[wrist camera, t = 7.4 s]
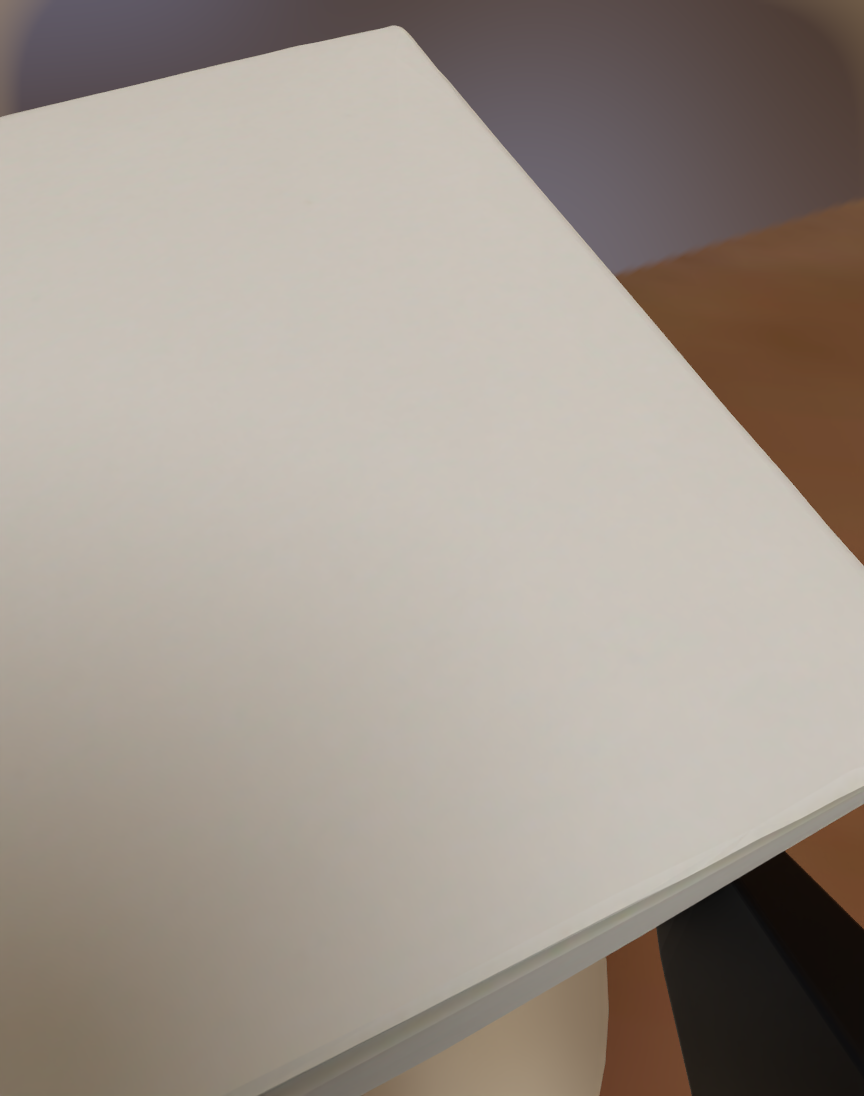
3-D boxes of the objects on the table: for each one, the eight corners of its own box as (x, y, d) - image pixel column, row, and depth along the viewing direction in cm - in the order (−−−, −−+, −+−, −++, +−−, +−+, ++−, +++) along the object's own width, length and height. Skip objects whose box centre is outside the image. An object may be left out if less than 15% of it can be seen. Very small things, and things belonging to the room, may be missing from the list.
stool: (158, 1456, 16) (90, 1668, 12) (-108, 856, 19) (-231, 877, 15) (673, 1030, 19) (747, 1095, 15) (376, 568, 22) (375, 523, 18)
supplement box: (596, 958, 14) (1097, 768, 3) (198, 1156, 13) (-1336, 2034, 2) (437, 621, 18) (418, -7, 7) (114, 747, 16) (-564, 210, 5)
